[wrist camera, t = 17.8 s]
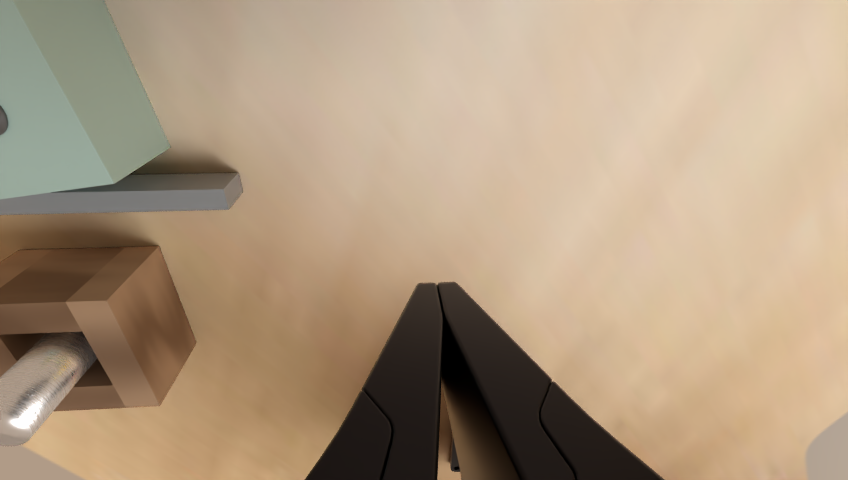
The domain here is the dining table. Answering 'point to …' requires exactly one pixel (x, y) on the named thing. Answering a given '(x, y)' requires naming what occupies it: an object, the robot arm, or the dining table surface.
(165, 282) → the block
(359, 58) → the dining table surface
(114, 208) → the grey u-shaped bracket
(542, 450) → the robot arm
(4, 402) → the cylinder
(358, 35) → the dining table surface
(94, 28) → the block
